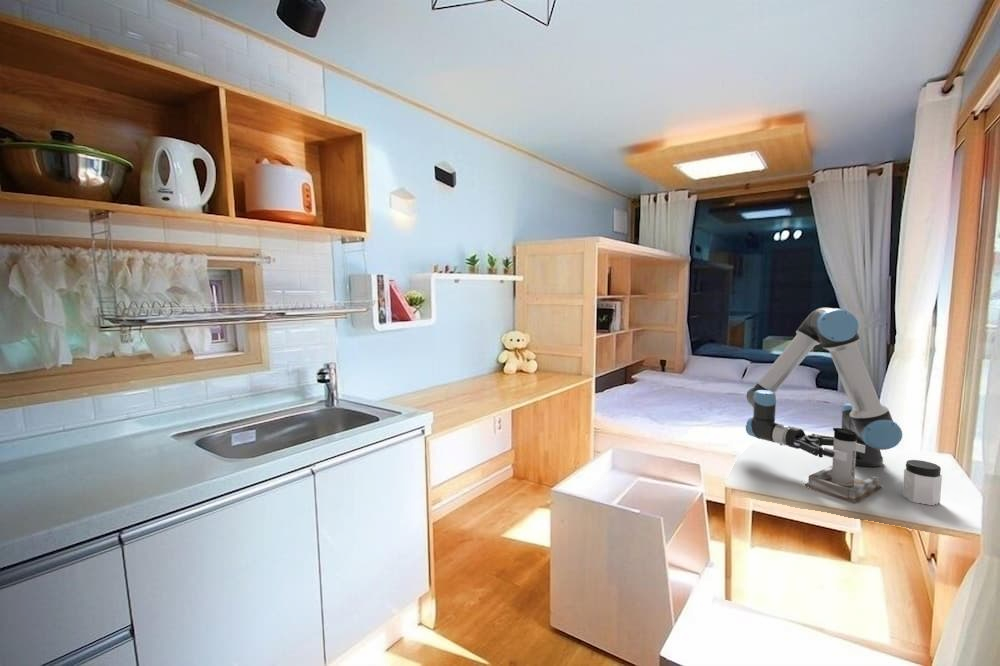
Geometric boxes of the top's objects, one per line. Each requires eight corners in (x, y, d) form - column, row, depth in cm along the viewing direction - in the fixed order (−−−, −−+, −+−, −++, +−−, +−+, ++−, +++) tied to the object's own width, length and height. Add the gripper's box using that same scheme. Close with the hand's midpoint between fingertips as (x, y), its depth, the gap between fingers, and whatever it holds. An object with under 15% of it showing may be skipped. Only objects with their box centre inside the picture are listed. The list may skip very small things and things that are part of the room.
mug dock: (832, 474, 167) (832, 463, 167) (881, 488, 154) (882, 477, 154) (804, 486, 157) (805, 475, 157) (855, 503, 144) (855, 491, 144)
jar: (896, 493, 151) (898, 458, 150) (923, 494, 150) (926, 459, 149) (917, 505, 142) (920, 469, 141) (946, 506, 141) (949, 470, 140)
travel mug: (828, 480, 160) (830, 425, 158) (850, 482, 157) (853, 427, 155) (833, 487, 154) (836, 431, 152) (856, 490, 152) (860, 433, 150)
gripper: (805, 439, 177) (871, 456, 158) (771, 452, 164) (837, 471, 146) (806, 421, 176) (872, 435, 158) (771, 432, 163) (838, 449, 145)
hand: (855, 453), depth 152 cm, fingers open, 13 cm apart
